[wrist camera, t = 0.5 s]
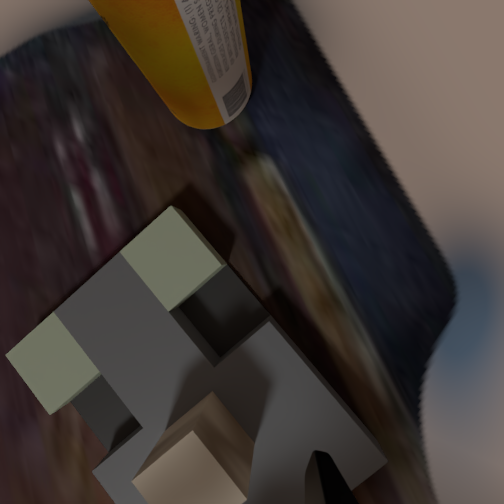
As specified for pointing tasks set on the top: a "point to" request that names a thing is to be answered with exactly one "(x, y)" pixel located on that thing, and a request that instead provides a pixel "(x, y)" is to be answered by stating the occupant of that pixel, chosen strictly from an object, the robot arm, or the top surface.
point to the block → (199, 459)
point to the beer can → (187, 54)
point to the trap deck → (188, 367)
